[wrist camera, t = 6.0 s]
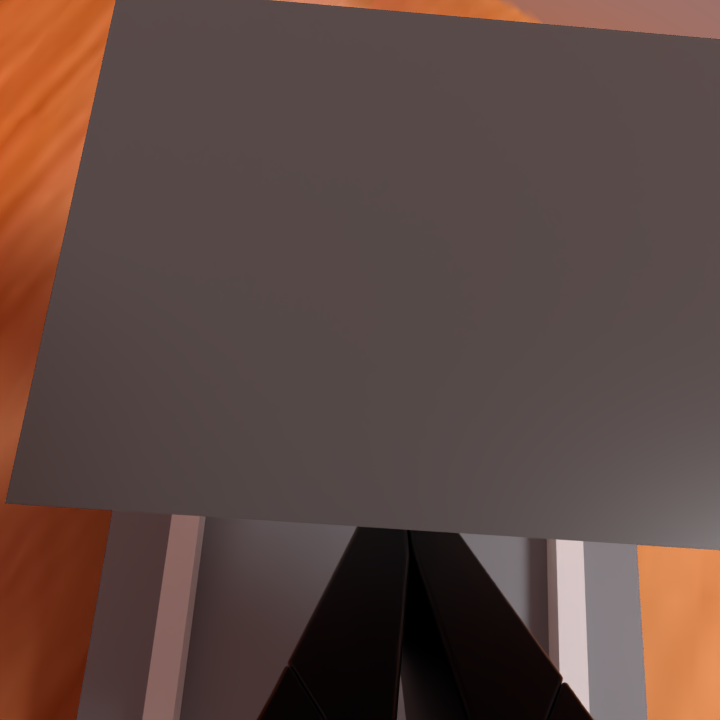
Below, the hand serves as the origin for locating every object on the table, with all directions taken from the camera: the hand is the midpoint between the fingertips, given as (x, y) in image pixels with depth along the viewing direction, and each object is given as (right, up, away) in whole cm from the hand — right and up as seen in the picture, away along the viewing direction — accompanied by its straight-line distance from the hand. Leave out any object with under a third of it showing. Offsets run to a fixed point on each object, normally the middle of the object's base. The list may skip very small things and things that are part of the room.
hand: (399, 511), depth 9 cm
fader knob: (0, +1, +4) cm, 4 cm away
